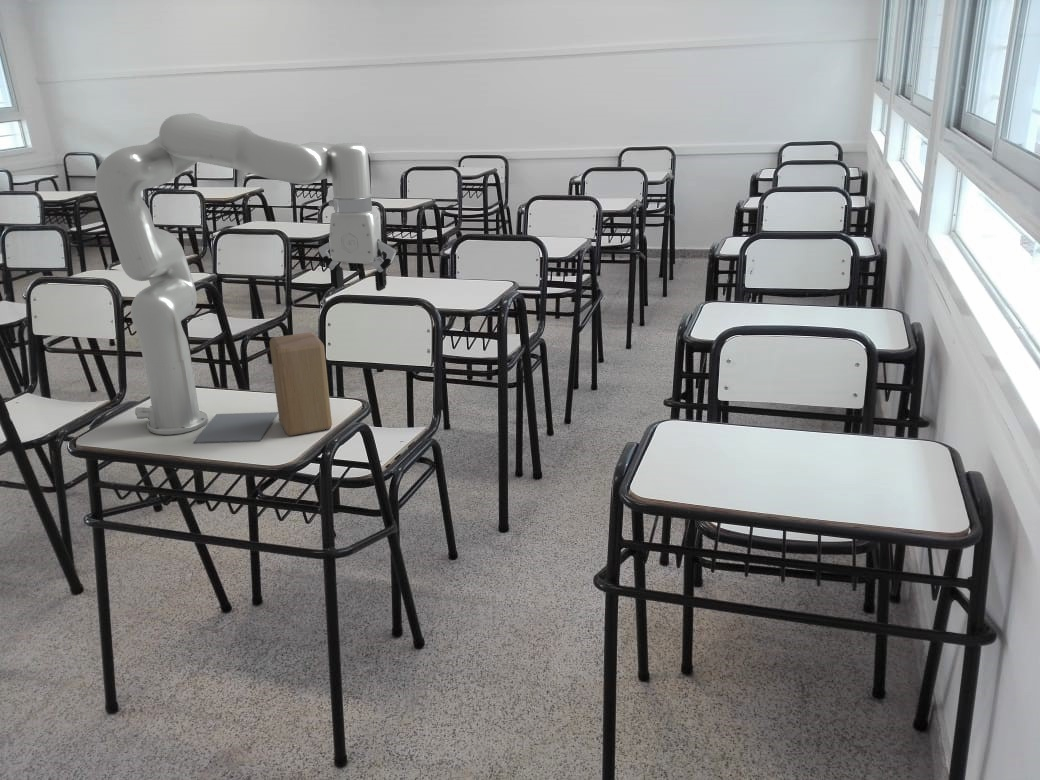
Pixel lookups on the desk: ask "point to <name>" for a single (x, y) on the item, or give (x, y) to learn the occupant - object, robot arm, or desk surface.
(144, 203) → the robot arm
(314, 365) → the wooden block
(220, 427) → the mat
